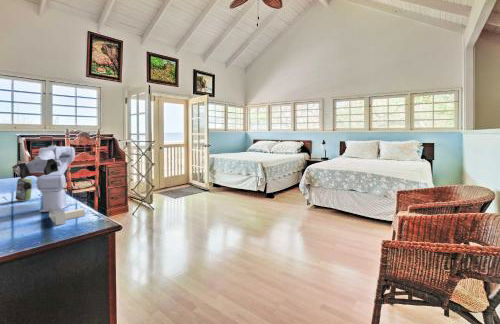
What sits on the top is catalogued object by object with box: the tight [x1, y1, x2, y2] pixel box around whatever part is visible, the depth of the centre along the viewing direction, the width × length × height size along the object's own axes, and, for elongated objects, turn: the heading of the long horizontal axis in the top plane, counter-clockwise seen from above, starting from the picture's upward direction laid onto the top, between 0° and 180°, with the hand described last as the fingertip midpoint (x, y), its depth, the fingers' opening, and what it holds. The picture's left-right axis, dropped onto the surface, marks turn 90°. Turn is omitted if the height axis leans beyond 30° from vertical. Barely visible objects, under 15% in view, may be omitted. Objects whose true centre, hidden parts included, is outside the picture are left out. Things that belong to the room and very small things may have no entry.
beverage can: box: [15, 177, 33, 202], centre depth 140 cm, size 6×7×12 cm
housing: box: [48, 205, 66, 226], centre depth 109 cm, size 14×3×5 cm, turn 45°
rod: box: [51, 208, 86, 223], centre depth 111 cm, size 11×3×3 cm, turn 139°
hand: (33, 174), depth 103 cm, fingers open, 7 cm apart
